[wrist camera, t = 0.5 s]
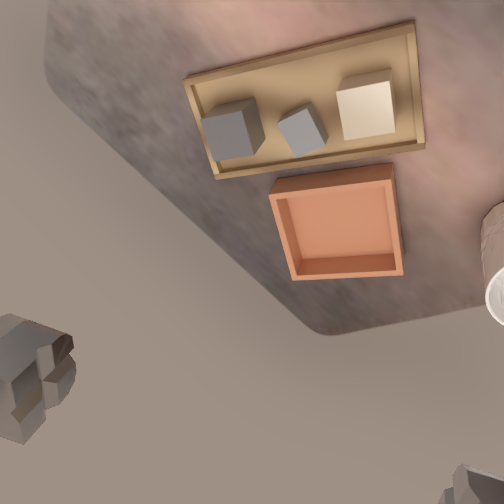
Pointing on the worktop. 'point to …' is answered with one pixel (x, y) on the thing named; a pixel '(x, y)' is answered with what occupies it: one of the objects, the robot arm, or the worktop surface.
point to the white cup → (493, 261)
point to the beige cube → (367, 104)
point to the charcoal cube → (233, 129)
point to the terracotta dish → (340, 223)
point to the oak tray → (316, 98)
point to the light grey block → (303, 130)
